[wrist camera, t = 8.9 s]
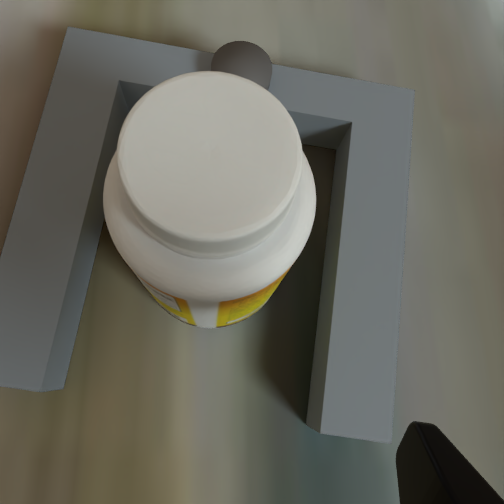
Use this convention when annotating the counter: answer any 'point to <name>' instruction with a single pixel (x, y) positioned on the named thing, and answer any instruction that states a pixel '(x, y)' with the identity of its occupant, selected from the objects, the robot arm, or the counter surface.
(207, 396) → the counter surface
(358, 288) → the housing cradle
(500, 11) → the counter surface
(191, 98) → the supplement bottle
